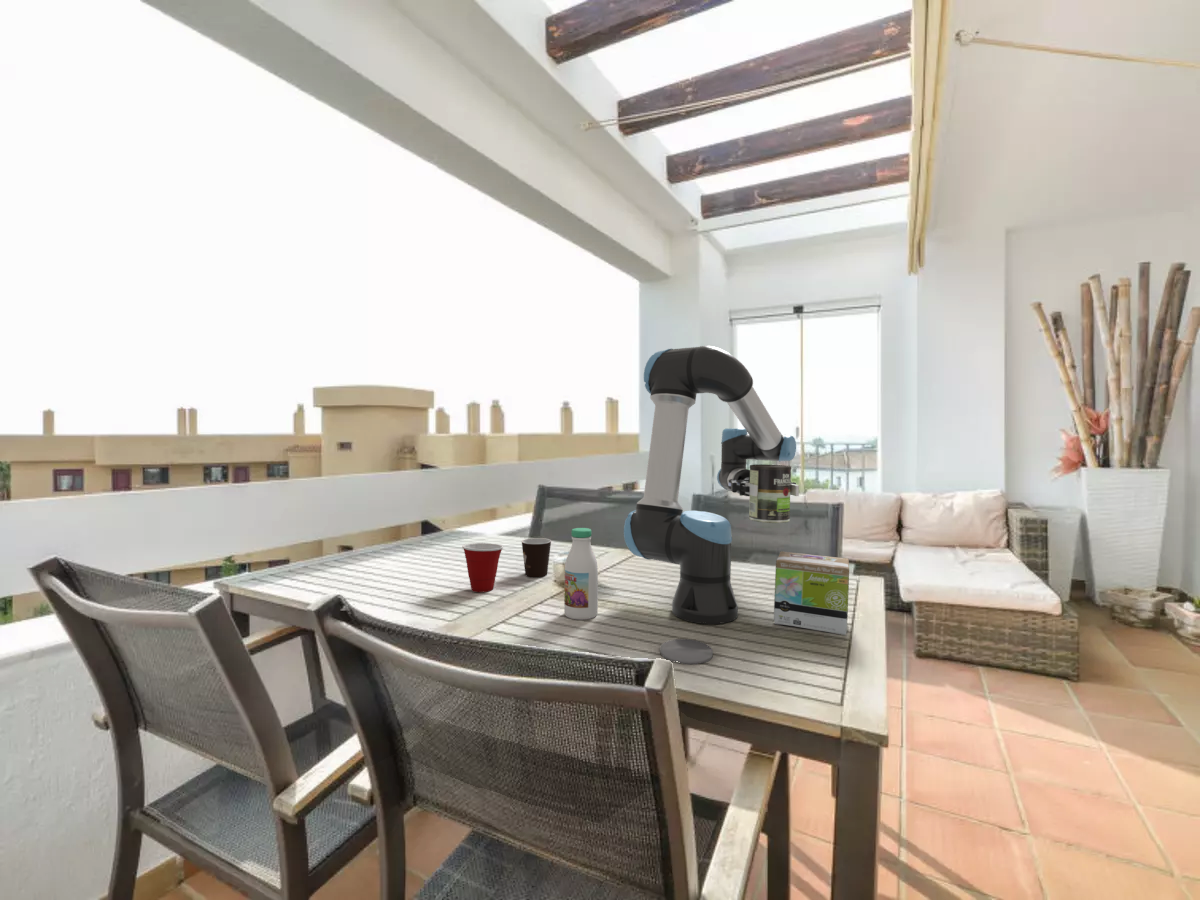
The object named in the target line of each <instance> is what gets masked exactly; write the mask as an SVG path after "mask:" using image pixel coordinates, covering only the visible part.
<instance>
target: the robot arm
mask: <svg viewBox="0 0 1200 900" xmlns="http://www.w3.org/2000/svg"><path fill="white" fill-rule="evenodd" d="M643 382H644V387H645V390H646V391H647V392H648V393H649V394H650V397H649V398H650V400H651V402H652V403H653V404H654V412H653V422H652V426H651V427H652V428H651V436H650V443H649V452H648V460H647V467H646V478H645V485H644V490H643V491H644V493H643V497H642V498H641V499H639V500H638V501H637V502H636V507H635V509H634V510H633V511H630V512H629V513H628V515H627V517H626V518H625V521H624V524H623V525H624V526H623V537H624V542H625V545H626V546H627V548H628V550H629V551H630V553H631V554H633V555H634V556H637V557H639V558H643V559H646V560H650V561H651V560H653V561H658V562H662V563H663V562H664V563H669V564H675V565H679V569H680V570H679V581H678V584H677V586H676V589H675V592H674V595H673V599H672V603H671V607H672V608H671V612H672V614H673V616H675V617H677V618H679V619H681V620H682V621H683V620H684V621H687V622H690V623H694V624H695V623H697V624H703V625H704V624H705V625H718V624H719V625H720V624H726V623H730V622H734V621H735V620H736V619H737V618H738V613H739V612H738V611H739V605H738V603H737V602H738V601H737V599H736V596H735V592H734V590H733V586H732V583H731V577H732V576H731V570H732V567H731V565H732V542H733V536H732V525H731V523H730V521H729V520H728V519H727V518H726V517H724V516H723V515H720V514H716V513H714V512H708V511H704V510H703V511H702V510H701V511H700V510H685V511H683V510H684V508H683V507H682V505H681V504H680V503H679V494H680V492H679V491H680V485H681V477H682V468H683V467H682V466H683V460H684V459H683V458H684V450H685V443H686V436H687V435H686V434H687V425H688V415H689V410H690V409H691V407H693V406H694V405H695V404H696V399H697V394H711V395H715V396H717V398H718V399H719V400H720V401H721V402H724V403H727V405H728V407H729V408H730V409H731V410H732V413H733V414H734V415H735V416H736V417H737V419H738V421H739V422H740V424H741V425H742V427H743V428H739V427H738V428H736V427H735V428H732V427H731V428H730V427H729V428H724V429H723V430H722V432H721V433H722V434H721V443H720V444H721V454H720V455H721V459H720V460H721V462H720V463H721V464H720V469H719V470H718V471H717V475H716V480H717V483H718V484H719V486H720V487H721V488H722V489H724V490H726V491H728V492H732V493H733V494H734V493H735V494H739V495H738V496H741V497H742V496H745V497H750V495H752V496H757V492H758V485H754V484H750V469H748V468H747V460H750V461H751V460H752V461H770V462H771V461H772V462H774V461H775V462H789V461H792V460H794V458H795V456H796V453H797V441H796V438H795V437H794V436H792V435H788V434H784V435H783V434H782V433H781V431H780V430H779V427H777V424H776V423H775V422H774V419H773V418H772V417H771V414H770V413H769V411H768V410H767V408H766V406H765V404H764V403H763V401H762V400H761V398H760V396H759V395H758V393H757V391H756V389H754V387H753V386H754V380H753V377H752V375H751V373H750V372H749V370H748V369H747V368H746V365H744V364H743V363H742V362H741V361H740V360H739V359H737V358H736V357H735V356H734V355H733V354H731V353H729V352H728V351H726V350H724V349H722V348H720V347H716V346H712V345H700V346H693V347H683V348H667V349H665V350H658V351H656V352H654V353H653V354H652V355H651V356H650V357H649V358H648V360H647V362H646V363H645V366H644V371H643ZM799 494H800V485H799V484H797V482H794V481H793V482H792V481H791V486H790V496H794V497H799V496H800V495H799Z"/></svg>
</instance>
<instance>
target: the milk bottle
mask: <svg viewBox="0 0 1200 900" xmlns="http://www.w3.org/2000/svg"><path fill="white" fill-rule="evenodd" d="M591 539H592V529H591V528H588V527H576V528H572V529H571V540H572V543H571V546H570V550H569V552H568V554H567V556H566V559H565V564H564V565H565V566H564V586H563V587H564V590H563V591H564V592H563V593H564V595H563V597H564V604H563V605H564V608H563V609H564V610H563V611H564V615H565V617H566V618H568V619H571V620H577V621H578V620H583V621H584V620H590V619H593V618H595V617H596V616H597V615H598V611H599V610H598V609H599V607H598V606H599V603H598V602H599V597H598V596H599V594H598V593H599V573H598V572H599V571H598V569H599V568H598V561H597V557H596V555H595V554H596V553H594V551H593V548H592V547H593V546H592V545H591Z"/></svg>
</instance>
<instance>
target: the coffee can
mask: <svg viewBox="0 0 1200 900" xmlns="http://www.w3.org/2000/svg"><path fill="white" fill-rule="evenodd" d="M749 470H750V484H754V485H758V492H757V496H752V495H750V496H749V498H748V499H749V503H748V506H749V509H748V512H749V513H748V520H750V521H752V522H753V521H754V522H758V523H764V524H765V523H767V524H783V523H784V524H786V523H790V522H791V517H790V516H791V514H790V513H791V511H790V510H791V495H790V486H791V482H792V481H791V480H792V478H791V477H792V466H791V465H784V464H750V465H749Z"/></svg>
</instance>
